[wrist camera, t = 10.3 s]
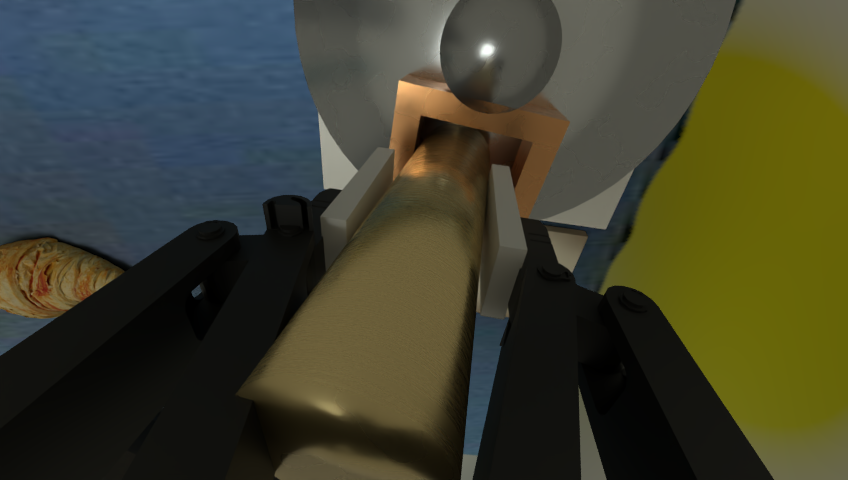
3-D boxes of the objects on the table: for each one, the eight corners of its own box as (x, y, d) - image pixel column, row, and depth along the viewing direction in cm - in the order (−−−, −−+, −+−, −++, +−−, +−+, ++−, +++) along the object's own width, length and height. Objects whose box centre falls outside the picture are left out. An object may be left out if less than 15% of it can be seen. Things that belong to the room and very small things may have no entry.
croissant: (153, 237, 41) (81, 243, 33) (155, 316, 42) (86, 339, 34) (4, 231, 43) (-97, 235, 35) (9, 306, 44) (-89, 326, 36)
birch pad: (547, 316, 36) (549, 323, 35) (447, 300, 36) (446, 307, 36) (584, 231, 30) (588, 236, 29) (463, 213, 30) (463, 218, 29)
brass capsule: (482, 196, 20) (442, 536, 6) (417, 185, 20) (251, 480, 7) (496, 127, 18) (482, 424, 4) (423, 117, 18) (197, 353, 5)
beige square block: (585, 199, 28) (605, 229, 24) (345, 165, 29) (324, 188, 25) (738, -175, 17) (828, -243, 12) (332, -210, 18) (289, -283, 13)
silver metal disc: (582, 233, 24) (609, 282, 20) (314, 169, 24) (277, 203, 19) (816, -182, 13) (1003, -295, 8) (322, -307, 13) (241, -489, 8)
